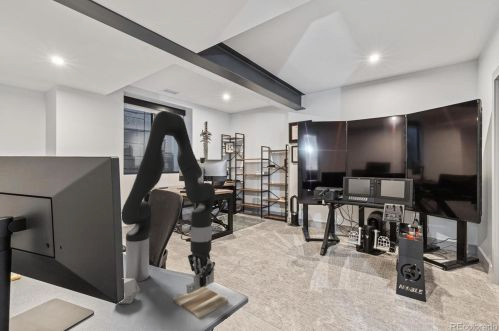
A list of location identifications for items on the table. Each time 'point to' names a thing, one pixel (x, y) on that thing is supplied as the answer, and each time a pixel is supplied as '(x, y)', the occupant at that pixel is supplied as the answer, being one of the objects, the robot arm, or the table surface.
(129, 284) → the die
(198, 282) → the garden wall model
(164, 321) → the table surface
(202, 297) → the board
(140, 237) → the robot arm
